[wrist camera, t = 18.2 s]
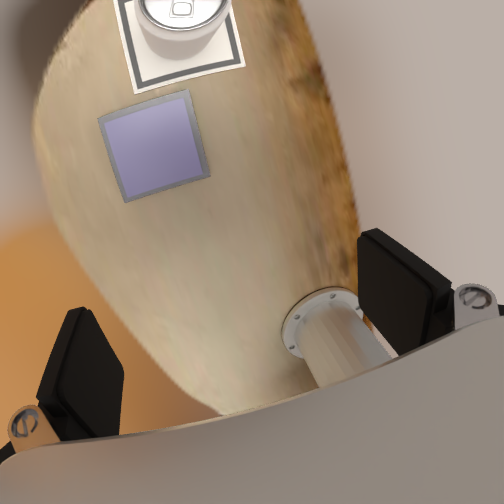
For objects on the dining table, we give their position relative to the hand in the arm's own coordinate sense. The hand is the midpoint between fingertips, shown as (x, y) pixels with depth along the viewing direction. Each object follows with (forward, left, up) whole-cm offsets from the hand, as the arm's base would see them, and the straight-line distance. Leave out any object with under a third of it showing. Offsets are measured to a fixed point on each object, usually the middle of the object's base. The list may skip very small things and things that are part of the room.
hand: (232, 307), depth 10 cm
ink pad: (+4, 0, -24) cm, 24 cm away
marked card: (+8, -11, -24) cm, 28 cm away
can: (+8, -11, -24) cm, 28 cm away
